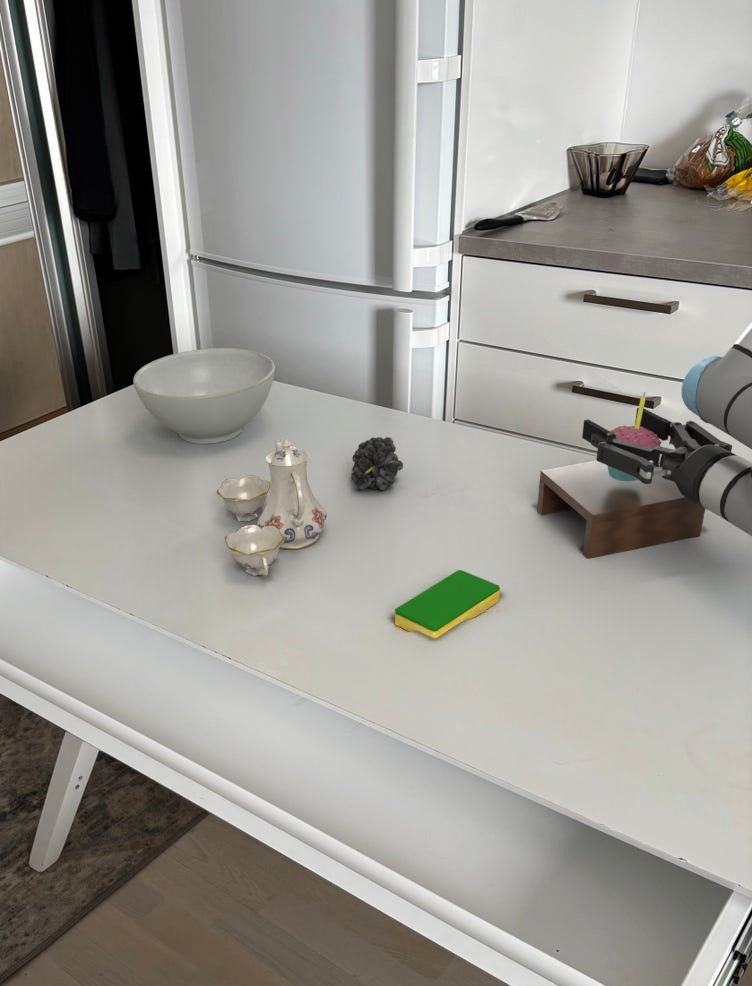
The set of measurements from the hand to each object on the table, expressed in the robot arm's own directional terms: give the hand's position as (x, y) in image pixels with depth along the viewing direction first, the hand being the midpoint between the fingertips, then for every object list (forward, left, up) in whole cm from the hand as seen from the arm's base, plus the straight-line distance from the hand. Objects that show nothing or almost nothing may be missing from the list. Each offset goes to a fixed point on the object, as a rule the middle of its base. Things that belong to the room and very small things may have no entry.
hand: (611, 422), depth 143 cm
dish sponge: (+33, +18, -15) cm, 40 cm away
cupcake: (0, +5, -7) cm, 8 cm away
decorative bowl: (+51, -58, -15) cm, 79 cm away
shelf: (0, +4, -15) cm, 15 cm away
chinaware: (+50, -11, -15) cm, 53 cm away
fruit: (+28, -25, -15) cm, 40 cm away
